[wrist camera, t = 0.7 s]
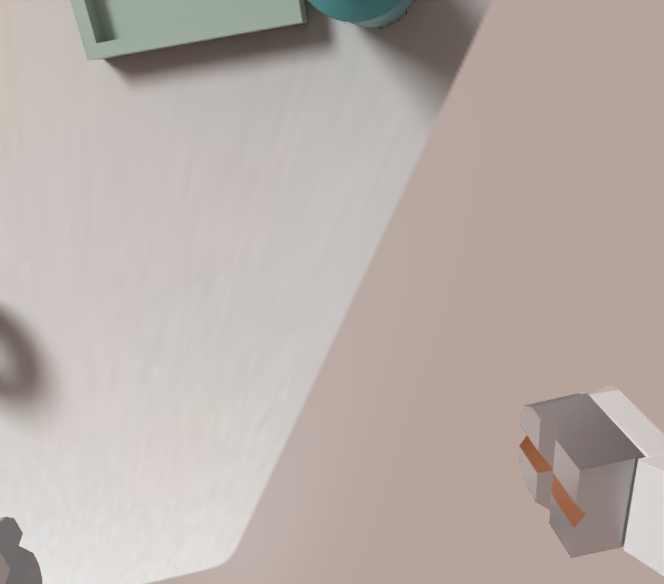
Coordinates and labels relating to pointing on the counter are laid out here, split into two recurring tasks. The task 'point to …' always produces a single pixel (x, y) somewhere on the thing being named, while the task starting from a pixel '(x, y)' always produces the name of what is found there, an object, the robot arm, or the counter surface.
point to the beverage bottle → (363, 11)
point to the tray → (175, 22)
